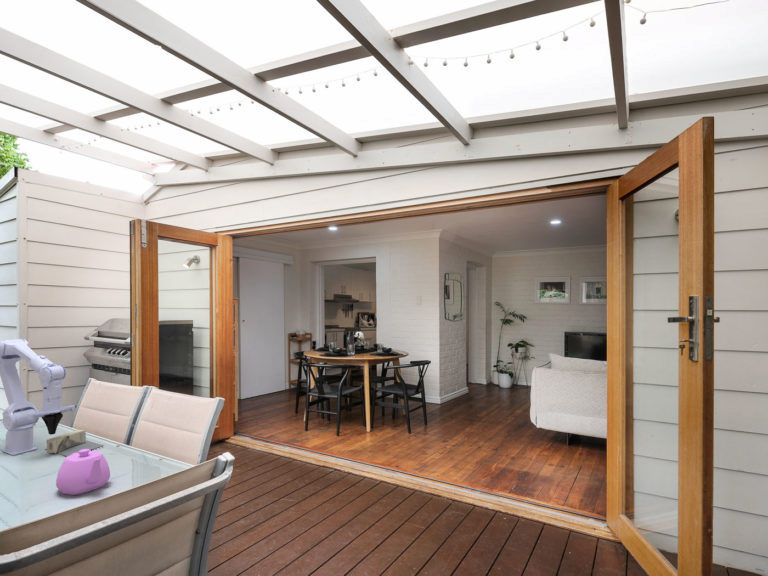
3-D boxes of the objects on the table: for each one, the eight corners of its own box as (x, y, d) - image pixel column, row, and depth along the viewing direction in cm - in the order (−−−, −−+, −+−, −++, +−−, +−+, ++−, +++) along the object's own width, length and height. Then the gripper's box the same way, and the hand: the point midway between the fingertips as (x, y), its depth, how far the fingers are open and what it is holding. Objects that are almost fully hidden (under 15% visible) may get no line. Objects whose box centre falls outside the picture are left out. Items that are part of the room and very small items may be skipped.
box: (54, 440, 161) (85, 429, 173) (45, 439, 162) (77, 428, 174) (55, 454, 161) (86, 442, 173) (46, 453, 162) (78, 441, 174)
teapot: (46, 489, 131) (47, 451, 132) (94, 474, 142) (95, 439, 143) (73, 506, 120) (74, 464, 120) (124, 488, 131) (124, 450, 132)
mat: (45, 450, 166) (45, 448, 166) (82, 440, 178) (82, 439, 178) (67, 457, 158) (67, 456, 158) (104, 446, 169) (104, 445, 169)
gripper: (34, 403, 153) (33, 441, 153) (79, 395, 166) (78, 430, 165) (25, 401, 157) (24, 438, 156) (70, 393, 169) (69, 427, 169)
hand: (52, 433), depth 161 cm, fingers closed
